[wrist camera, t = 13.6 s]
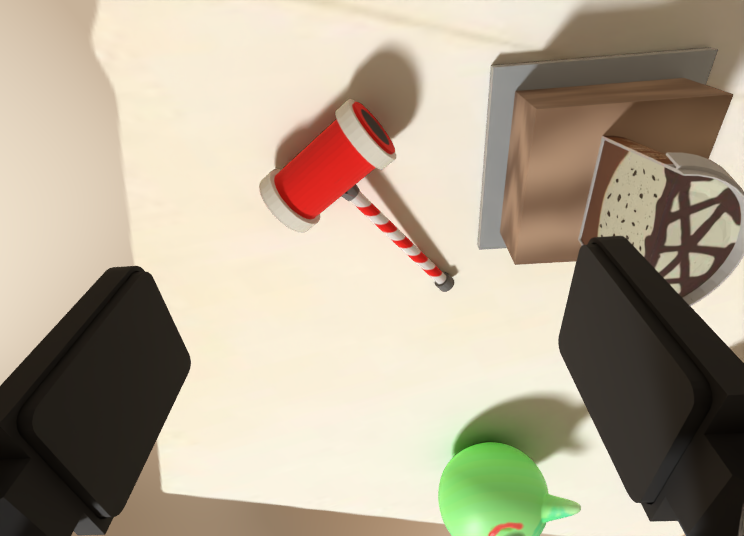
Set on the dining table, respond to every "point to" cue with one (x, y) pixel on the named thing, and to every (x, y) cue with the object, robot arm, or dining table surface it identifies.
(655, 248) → the food container
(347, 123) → the toy hammer
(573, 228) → the walnut brick
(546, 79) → the baseplate
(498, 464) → the toy bird
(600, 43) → the dining table surface
